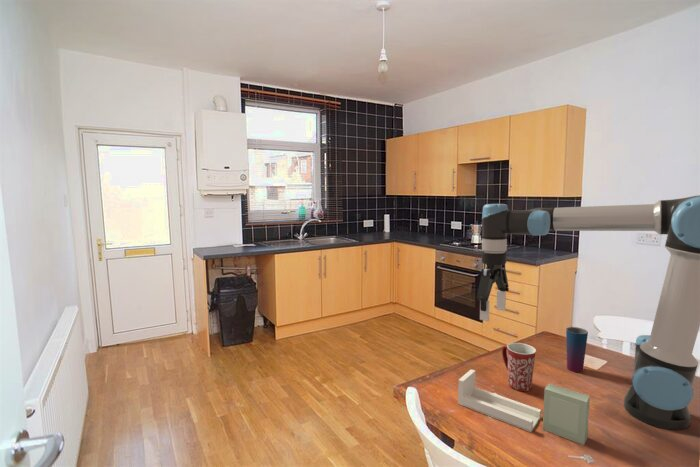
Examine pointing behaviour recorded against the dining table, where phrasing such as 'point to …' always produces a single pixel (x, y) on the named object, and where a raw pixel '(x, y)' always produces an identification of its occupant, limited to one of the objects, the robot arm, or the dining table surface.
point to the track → (496, 404)
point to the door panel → (566, 413)
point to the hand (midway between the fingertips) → (493, 314)
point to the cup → (576, 348)
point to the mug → (519, 365)
